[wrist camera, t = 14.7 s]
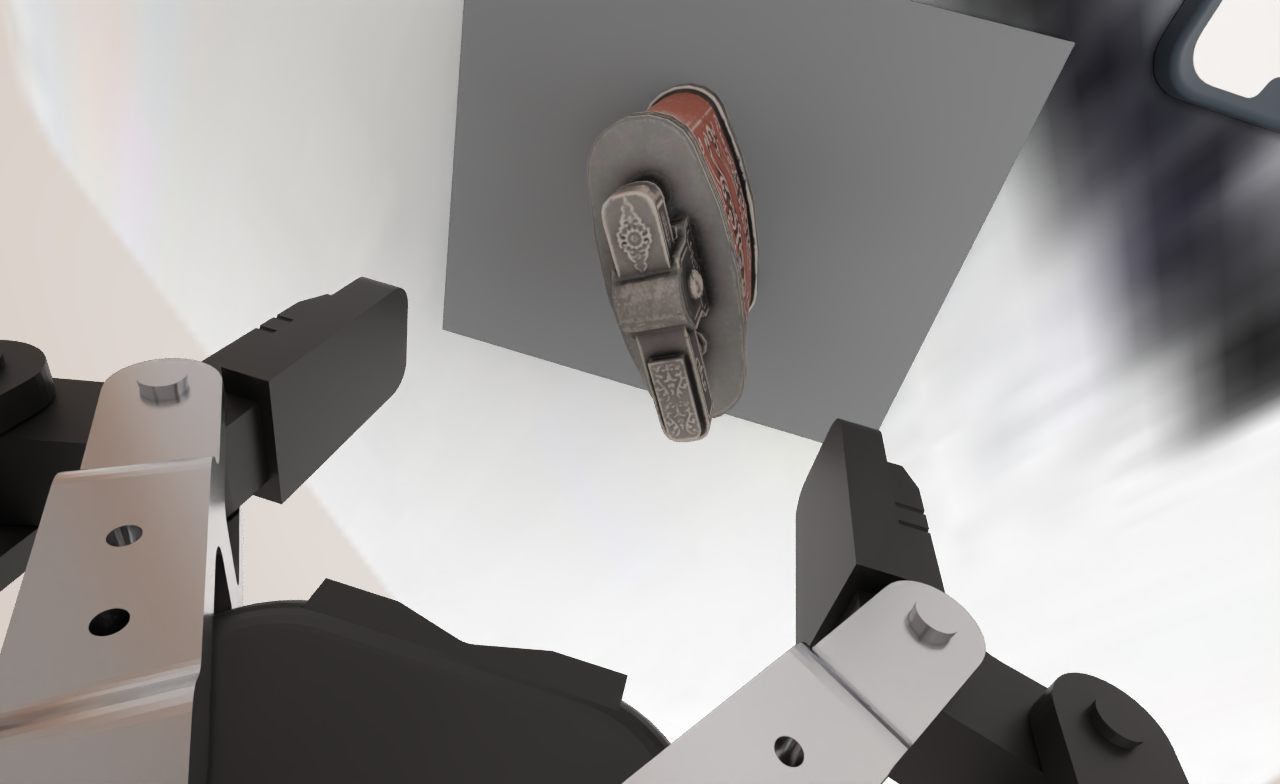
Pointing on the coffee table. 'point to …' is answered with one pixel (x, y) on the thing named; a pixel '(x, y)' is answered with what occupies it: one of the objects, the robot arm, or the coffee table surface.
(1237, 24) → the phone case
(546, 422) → the coffee table surface
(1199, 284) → the coffee table surface
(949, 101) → the rubber mat
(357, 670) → the robot arm
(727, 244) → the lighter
